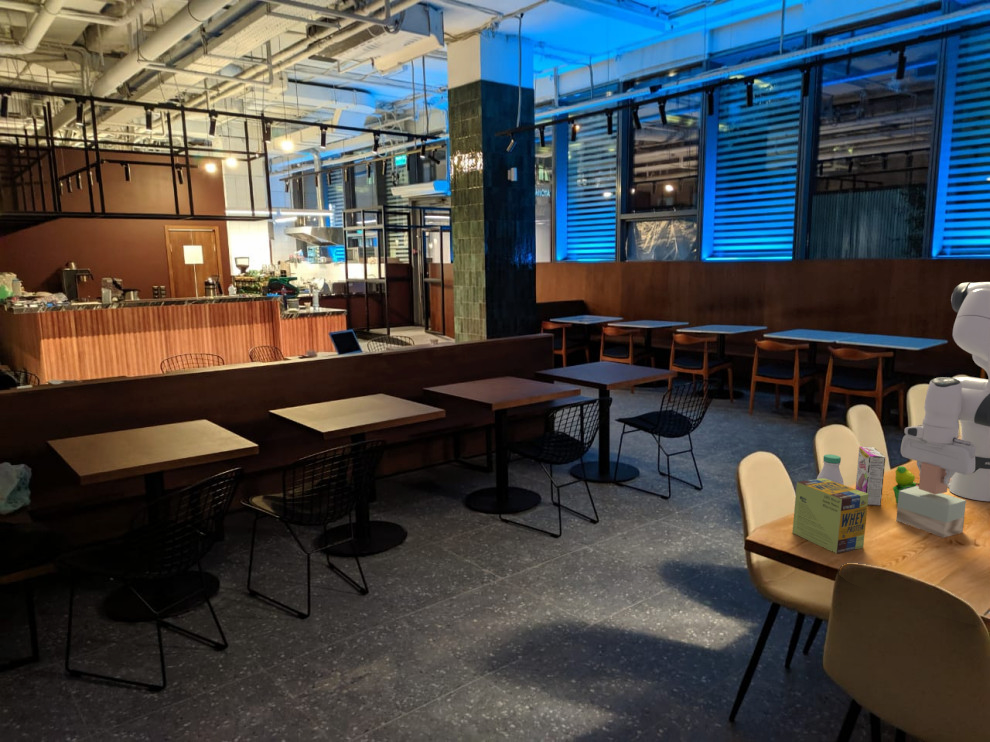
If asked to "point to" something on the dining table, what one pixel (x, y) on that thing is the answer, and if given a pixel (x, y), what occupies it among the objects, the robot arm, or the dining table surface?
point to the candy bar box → (870, 474)
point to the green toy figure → (903, 480)
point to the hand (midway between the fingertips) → (934, 480)
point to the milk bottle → (831, 469)
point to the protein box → (830, 514)
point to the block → (932, 479)
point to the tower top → (931, 504)
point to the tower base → (930, 523)
